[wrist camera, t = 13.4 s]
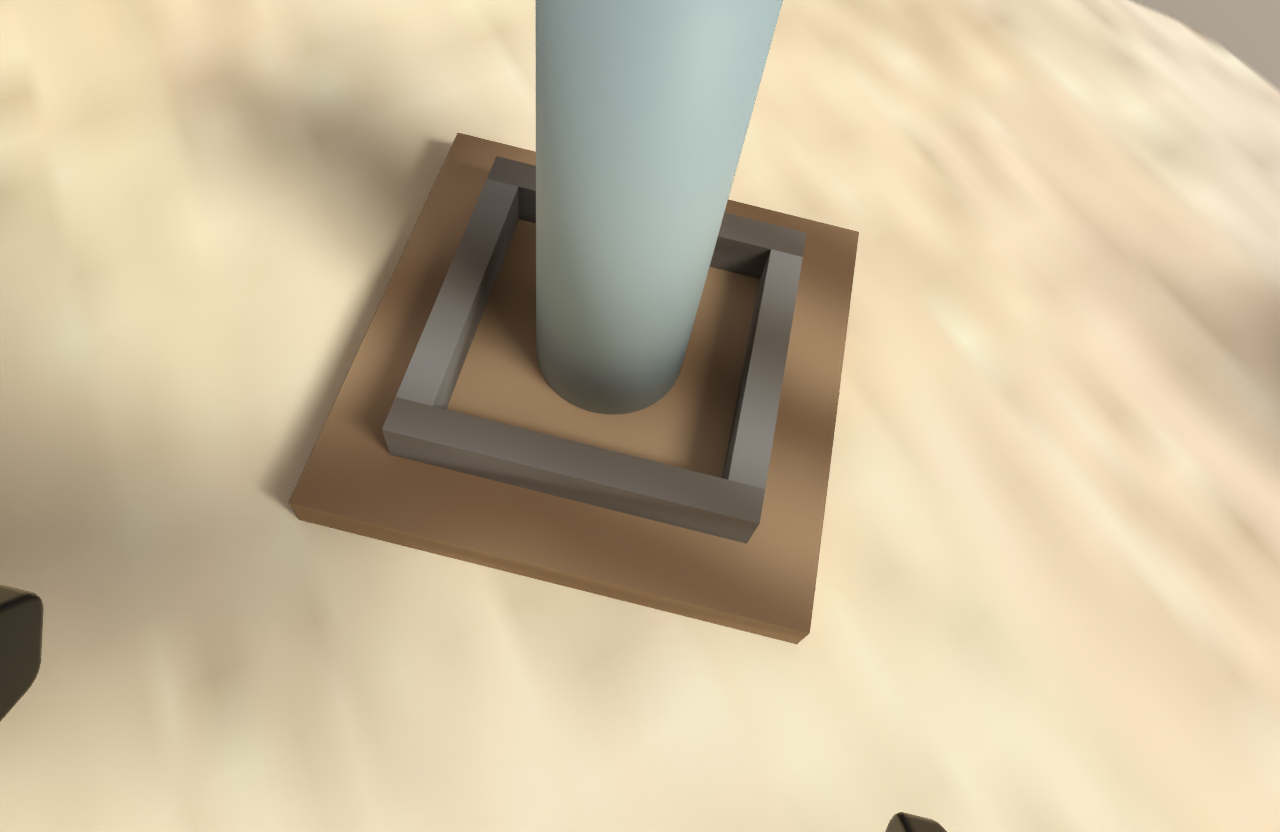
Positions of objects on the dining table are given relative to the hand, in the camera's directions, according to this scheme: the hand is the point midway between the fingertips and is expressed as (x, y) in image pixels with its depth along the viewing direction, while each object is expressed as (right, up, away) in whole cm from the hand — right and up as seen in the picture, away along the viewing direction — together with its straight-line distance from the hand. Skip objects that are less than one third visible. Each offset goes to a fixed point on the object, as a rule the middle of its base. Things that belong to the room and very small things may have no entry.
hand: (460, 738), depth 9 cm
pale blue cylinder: (+1, +5, +17) cm, 18 cm away
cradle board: (+1, +5, +18) cm, 19 cm away
